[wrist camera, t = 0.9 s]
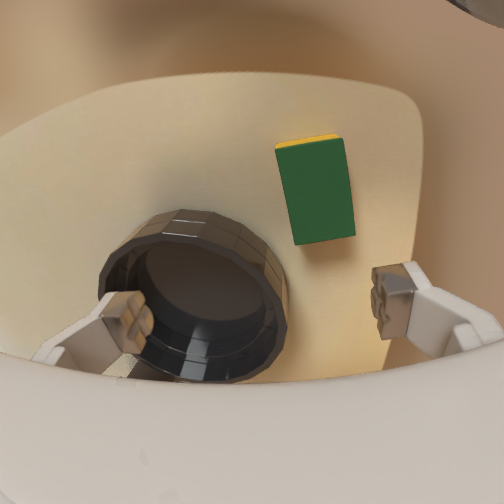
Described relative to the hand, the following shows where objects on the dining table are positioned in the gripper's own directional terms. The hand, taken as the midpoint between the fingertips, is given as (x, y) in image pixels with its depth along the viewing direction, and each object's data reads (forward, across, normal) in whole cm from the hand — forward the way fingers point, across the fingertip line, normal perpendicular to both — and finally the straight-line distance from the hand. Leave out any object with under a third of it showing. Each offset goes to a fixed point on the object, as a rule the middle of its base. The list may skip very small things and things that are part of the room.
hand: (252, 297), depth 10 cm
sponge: (+14, -3, 0) cm, 15 cm away
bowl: (+14, +8, +9) cm, 19 cm away
